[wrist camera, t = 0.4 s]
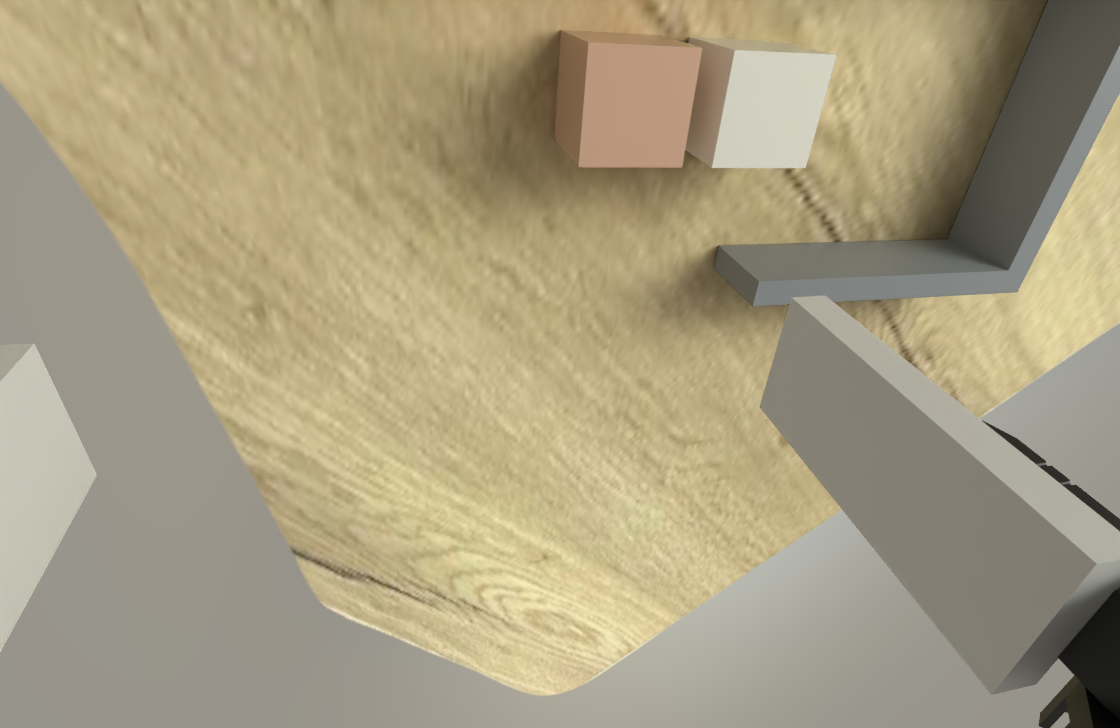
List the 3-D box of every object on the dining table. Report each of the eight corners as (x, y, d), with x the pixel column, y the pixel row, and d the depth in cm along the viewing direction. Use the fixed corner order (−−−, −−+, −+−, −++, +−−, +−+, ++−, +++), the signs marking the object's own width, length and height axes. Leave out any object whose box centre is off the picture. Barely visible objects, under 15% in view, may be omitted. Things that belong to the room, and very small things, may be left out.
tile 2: (688, 36, 31) (734, 49, 27) (779, 41, 32) (836, 54, 28) (672, 141, 33) (711, 167, 29) (756, 142, 34) (805, 168, 30)
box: (804, -150, 27) (876, -168, 23) (1118, -109, 31) (1226, -118, 27) (713, 268, 38) (752, 306, 34) (956, 259, 42) (1017, 292, 38)
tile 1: (560, 29, 29) (588, 42, 25) (660, 35, 30) (702, 47, 26) (554, 139, 32) (578, 167, 28) (645, 141, 33) (682, 167, 29)
